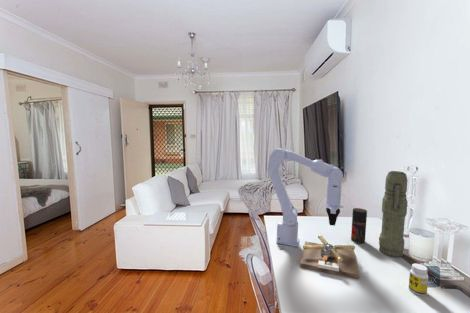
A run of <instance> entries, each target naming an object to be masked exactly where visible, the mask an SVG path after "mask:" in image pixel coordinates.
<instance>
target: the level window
mask: <svg viewBox="0 0 470 313" xmlns="http://www.w3.org/2000/svg"><path fill="white" fill-rule="evenodd" d="M318 267H319V268H324V269H328V270H333V271H338V272H339V264H336V263H332V266H331V263H330V262H327V263H326V265H325V261H320V260H319V262H318Z"/></svg>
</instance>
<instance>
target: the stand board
mask: <svg viewBox="0 0 470 313" xmlns="http://www.w3.org/2000/svg"><path fill="white" fill-rule="evenodd" d="M303 245H323V247H325V245H324V244H323V243H318V242H311V241H304V243H303ZM334 247H335V245H333V248H334ZM334 249H335V248H334ZM337 254H338V255H339V256H340V257H341V258H342V262H341V263H340V262H338V261H337V260H336V259H334V260H328V262H330V263H331V266H332V263H336V264H339V272H338V271H333V270H328V269H324V268H319V267H318V262H319V260H320V261H322V258H323V257H322V256H321V249H306V250H305V249H303V248H302V253H301V258H300V261H299V267H300V268H304V269H309V270H314V271H318V272H323V273H328V274H334V275H338V276H343V277H347V278H351V279H357V280H359V279H360V273H359V268H358V264H357V260H356V259H357V258H356V254H355V249H354V250H337ZM325 265H326V264H325Z"/></svg>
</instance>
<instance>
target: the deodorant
mask: <svg viewBox="0 0 470 313" xmlns="http://www.w3.org/2000/svg"><path fill="white" fill-rule="evenodd" d="M367 215H368V210H366V209H365V208H360V207H354V208H352V217H351V218H352V219H351V230H350V231H351V233H350V234H351V235H350V240H351V242H353V243H354V244H355V243H356V244H365V243H366V232H367V229H366V228H367V218H368V216H367Z"/></svg>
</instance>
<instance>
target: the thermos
mask: <svg viewBox="0 0 470 313" xmlns="http://www.w3.org/2000/svg"><path fill="white" fill-rule="evenodd" d="M408 180H409V179H408V177H407V174H406V172H404V171H396V170H391V171H388V173H387V175H386V176H385V185H384V191H385V192H384V194H383V197H382V200H381V202H382V203H381V212H382V220H381V221H382V222H381V232H380V233H379V234H380V235H379V241H378V246H379V252H380V253H381V254H383V255H385V256H388V257H392V258H403V256H404V250H405V239H404V234H405V233H404V232H405V221H406V216H407V214H408V203H409V202H408V199H407V194H406V193H407V191H408Z"/></svg>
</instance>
